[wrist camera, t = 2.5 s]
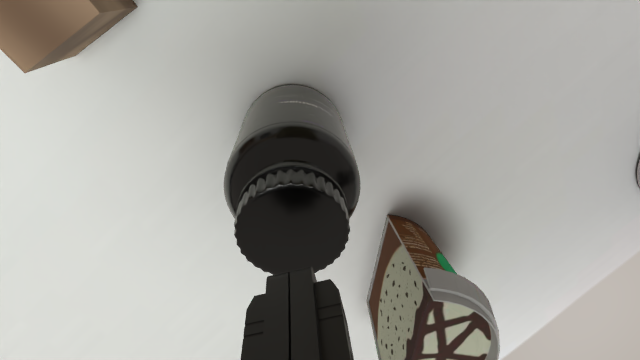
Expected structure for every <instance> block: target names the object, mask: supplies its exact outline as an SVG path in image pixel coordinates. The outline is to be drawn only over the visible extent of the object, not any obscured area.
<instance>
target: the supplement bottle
mask: <svg viewBox="0 0 640 360" xmlns="http://www.w3.org/2000/svg"><path fill="white" fill-rule="evenodd" d="M224 193H225V198H226V202H227V205H228V207H229V209H230V211H231V213H232V215H233V217H234V218H235V222H234V226H235V232H234V235H235V237H236V239H237V245H238V246H239V247H240V249H241V253H242V254H243V255H245V256H246V259H247V260H248V261H249V262H252V263H253V265H254V266H255V267H258V268H261V269H262V270H263V271H264V272H270V273H271V274H273V275H277V274H282V273H286V272H291V271H295V270H299V269H304V268H308V267H312V268H313V271H314V273H316V272H317V271H319V270H322V269H325V268H326V267H327V265H330V264H332V263H333V262H334V260H335V259H336V258H338V257H339V256H340V253H341V252H342V251H343V250H344V249H345V244H346V243H347V241H348V234H349V232H350V227H349V218H350V217H351V215H352V214H353V212H354V210H355V208H356V206H357V203H358V199H359V195H360V175H359V171H358V166H357V163H356V160H355V158H354V155H353V152H352V149H351V146H350V143H349V140H348V137H347V134H346V131H345V129H344V126H343V123H342V120H341V118H340V115H339V113H338V111H337V110H336V108H335V106H334V105H333V104H332V103H331V101H330V100H329V99H328V98H326V97H325V96H324V95H323V94H321V93H320V92H318V91H316V90H314V89H312V88H309V87H305V86H300V85H285V86H280V87H276V88H273V89H271V90H269V91H267V92H265V93H264V94H262V95H261V96H260V97H259V98H258V99H257V100H256V101H255V102H254V103H253V104H252V106H251V107H250V109H249V110H248V112H247V114H246V117H245V119H244V121H243V124H242V127H241V129H240V132H239V135H238V137H237V140H236V143H235V145H234V148H233V151H232V153H231V156H230V159H229V161H228V164H227V168H226V172H225V177H224Z"/></svg>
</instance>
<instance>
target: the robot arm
mask: <svg viewBox="0 0 640 360" xmlns="http://www.w3.org/2000/svg"><path fill="white" fill-rule="evenodd" d="M637 180H638V185H639V187H640V160H639V163H638V169H637ZM241 360H354V358H353V353H352V348H351V342H350V337H349V331H348V325H347V320H346V316H345V312H344V309H343V305H342V301H341V297H340V293H339V289H338V288H337V287H336V286H335V284H334V283H333V282H332V281H331V280H330V279H329V280H324V281H320V282H317V281H316V277H315V274H314V271H313V268H312V267H308V268H304V269H299V270H295V271H291V272H286V273H282V274H277V275H273V276H268V277H267V282H266V294H261V295H257V296H254V298H253V299H252V301H251V303H250V305H249V307H248V308H247V311H246V320H245V328H244V339H243V345H242V354H241Z"/></svg>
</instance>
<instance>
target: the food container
mask: <svg viewBox="0 0 640 360" xmlns="http://www.w3.org/2000/svg"><path fill="white" fill-rule="evenodd" d="M367 305H368V310H369V315H370V319H371V324H372V329H373V334H374V339H375V344H376V349H377V354H378V358H379V360H498V357H499V351H500V345H499V330H498V327H497V324H496V321H495V318H494V315H493V312H492V309H491V306H490V303H489V301H488V299H487V298H486V296H485V294H484V293H483V292H482V291H481V290H480V289H479V288H478V287H477V286H476V285H475V284H474V283H472V282H471V281H469V280H468V279H466V278H464V277H462V276H460V275H457V273H456V272H455V271H454V269H453V268H452V267H451V265H450V264H449V263H448V261H447V260H446V258H445V257H444V256H443V254H442V253H441V252H440V250H439V249H438V248H437V246H436V245H435V243H434V242H433V241H432V239H431V238H430V237H429V235H428V234H427V233H426V231H425V230H424V229H423V228H422V227H421V226H419V225H418V224H416V223H415V222H413V221H411V220H409V219H406V218H403V217H400V216H394V215H387V218H386V222H385V226H384V230H383V235H382V239H381V243H380V247H379V251H378V256H377V260H376V264H375V268H374V272H373V277H372V281H371V285H370V289H369V293H368V298H367Z"/></svg>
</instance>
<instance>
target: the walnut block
mask: <svg viewBox="0 0 640 360" xmlns="http://www.w3.org/2000/svg"><path fill="white" fill-rule="evenodd" d="M136 8H137V5H136V4H135V3H134V2H133V0H0V49H1V50H2V51H3V52H4V53H5V54H6V55H7V56H8V57H9V58H10V59H11V60H12V61H13V62H14V63H15V64H16V65H17V66H18V67H19V68H20V69H21V70H22V71H23V72H24V73H27V72H30V71H32V70H35V69H38V68H41V67H44V66H47V65H50V64H53V63H56V62H58V61H61V60H64V59H67V58H70V57H73V56H76V55H77V54H78V53H79V52H81V51H82V50H83V49H85V48H86V47H87V46H88V45H90V44H91V43H92V42H93V41H95V40H96V39H97V38H99V37H100V36H101V35H102V34H104V33H105V32H106V31H108V30H109V29H110V28H111V27H113V26H114V25H115V24H116V23H118V22H119V21H120V20H122V19H123V18H124V17H125V16H127V15H128V14H129V13H131V12H132V11H133V10H134V9H136Z"/></svg>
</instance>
